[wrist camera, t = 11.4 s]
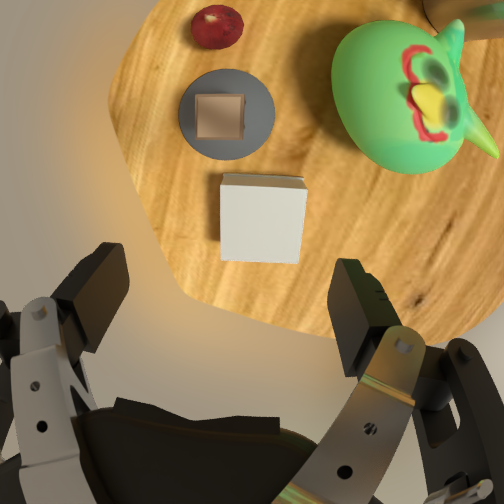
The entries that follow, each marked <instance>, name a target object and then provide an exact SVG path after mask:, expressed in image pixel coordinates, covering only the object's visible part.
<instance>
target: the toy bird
mask: <svg viewBox="0 0 504 504" xmlns="http://www.w3.org/2000/svg"><path fill="white" fill-rule="evenodd" d="M464 32H465V31H464V25H463V23H462V21H461V20H460V19H455V20H453V21H451V22H450V23H449V24H448V25H447V26H446V27H445V28H444V29H443V30H442V31H441V32H440V33H438V34H437V35H436V36H434V37H432V36H431V35H430V34H428V33H427V32H425V31H423V30H422V29H420V28H418V27H416V26H413V25H411V24H408V23H405V22H400V21H394V20H379V21H373V22H369V23H366V24H363V25H361V26H359V27H357V28H355V29H354V30H352V31H351V32H350V33H348V34H347V35H346V36H345V37H344V38H343V40H342V41H341V42H340V44H339V45H338V47H337V49H336V52H335V54H334V58H333V62H332V69H331V83H332V91H333V97H334V101H335V105H336V108H337V111H338V113H339V116H340V118H341V121H342V123H343V125H344V127H345V129H346V130H347V132H348V134H349V135H350V137H351V138H352V140H353V141H354V143H355V144H356V145H357V146H358V148H359V149H360V150H361V151H362V152H363V153H364V154H365V155H366V156H367V157H368V158H369V159H371V160H372V161H373V162H375V163H376V164H378V165H379V166H381V167H383V168H385V169H388V170H390V171H393V172H397V173H402V174H422V173H427V172H430V171H433V170H436V169H438V168H440V167H442V166H443V165H445V164H446V163H447V162H448V161H450V160H451V159H452V158H453V157H454V155H455V154H456V153H457V151H458V150H459V148H460V147H461V145H462V143H463V140H464V139H466V140H468V141H470V142H472V143H473V144H475V145H476V146H477V147H479V148H480V149H482V150H483V151H484V152H486V153H487V154H489V155H490V156H492V157H494V158H496V159H497V158H499V150H498V147H497V145H496V143H495V142H494V140H493V138H492V137H491V135H490V133H489V132H488V130H487V129H486V127H485V126H484V125H483V123H482V122H481V120H480V119H479V118H478V116H477V115H476V114H475V112H474V111H473V109H472V108H471V107H470V105H469V103H468V98H467V92H466V88H465V85H464V82H463V79H462V76H461V74H460V72H459V63H460V58H461V53H462V48H463V42H464Z"/></svg>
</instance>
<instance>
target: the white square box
mask: <svg viewBox="0 0 504 504" xmlns="http://www.w3.org/2000/svg"><path fill="white" fill-rule="evenodd" d="M307 190H308V189H307V188H306V186H305V184H304V178H303V177H296V176H281V175H264V174H241V173H223V180H222V182H221V184H220V236H221V260H227V261H248V262H271V263H294V264H298V261H299V254H300V247H301V239H302V232H303V224H304V216H305V208H306V199H307Z"/></svg>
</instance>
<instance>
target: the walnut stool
mask: <svg viewBox="0 0 504 504" xmlns="http://www.w3.org/2000/svg"><path fill="white" fill-rule="evenodd" d="M245 104H246V100H245V94H197V95H195V140H243V138H244V129H245V125H244V112H245Z"/></svg>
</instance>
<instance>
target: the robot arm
mask: <svg viewBox="0 0 504 504" xmlns="http://www.w3.org/2000/svg"><path fill="white" fill-rule="evenodd" d="M423 7H424V11H425V13H426V16H427V18H428V19H429V21H430V23H431V24H432V25H433V27H434V28H435V29H436V30H437V31H438V32H439V33H440V32H441V31H442V30H443V29H444V28H445V27H446V26H447V25H448V24H449V23H450V22H451V21H453V20H455V19H460V20H461V21H462V23H463V25H464V31H465V32H464V42H467V41H473V40H484V39H496V38H504V0H423ZM128 290H129V274H128V269H127V264H126V258H125V253H124V248H123V245H122V244H120V243H110V242H103V243H101V244H100V245H99V247H98V248H97V249H96V250H95V251H94V252H93V253H92V254H90V255H88V256H87V257H85V258H84V259H82V260H81V261H80V262H79V263H78V264H77V265H76V266H75V268H74V270H72V271H71V272H70V273H69V274H68V276H67V277H66V278H65V279H64V280H63V281H62V283H61V284H60V285H59V286H58V287H57V289H56V290H55V291H54V292H53V294H52V295H51V296H50V297H40V298H36V299H34V300H32V301H30V302H29V303H28V304H27V305H26V306H25V307H24V308H23V310H22V312H12V313H10V312H9V311H8V308H7V307H6V304H5V303H4V302H3V301H1V300H0V358H1V360H2V363H1V365H0V504H383V503H382V502H381V501H380V500H378V499H377V498H376V497H375V496H374V495H373V494H374V493H375V491H376V489H377V487H378V486H379V484H380V482H381V480H382V478H383V476H384V474H385V472H386V471H387V469H388V467H389V465H390V463H391V461H392V458H393V456H394V454H395V452H396V449H397V447H398V445H399V443H400V441H401V439H402V436H403V434H404V431H405V429H406V426H407V424H408V422H409V419H410V417H411V414H412V417H413V421H414V425H415V429H416V434H417V438H418V442H419V447H420V452H421V456H422V461H423V467H424V473H425V478H426V484H427V491H428V497H427V498H426V500H425V501H424V503H423V504H504V404H503V402H502V400H501V397H500V395H499V393H498V390H497V388H496V386H495V384H494V382H493V379H492V377H491V375H490V373H489V371H488V369H487V367H486V365H485V363H484V361H483V359H482V357H481V355H480V353H479V351H478V350H477V348H476V347H475V346H474V345H473V344H472V343H470V342H468V341H467V340H465V339H461V338H454V339H452V340H451V341H450V342H449V343H448V345H447V346H446V348H445V349H441V348H436V347H431V346H426V345H425V342H424V340H423V338H422V337H421V336H420V334H418V333H417V332H416V331H415V330H413V329H411V328H409V327H406V326H403V325H402V323H401V321H400V319H399V317H398V315H397V313H396V311H395V310H394V308H393V306H392V304H391V302H390V301H389V298H388V296H387V294H386V293H385V291H384V289H383V287H382V285H381V283H380V282H379V281H378V280H377V279H376V278H375V277H374V276H373V275H372V274H370V273H366V272H365V271H364V269H363V267H362V265H361V263H360V261H359V260H358V259H345V258H338V259H337V261H336V264H335V268H334V272H333V276H332V280H331V284H330V288H329V291H328V297H327V306H328V311H329V314H330V318H331V322H332V326H333V329H334V333H335V337H336V341H337V345H338V349H339V353H340V357H341V361H342V365H343V369H344V373H345V377H355V376H357V379H358V384H357V386H356V387H355V389H354V391H353V392H352V394H351V395H350V397H349V399H348V400H347V402H346V404H345V405H344V407H343V409H342V410H341V412H340V413H339V415H338V416H337V418H336V419H335V421H334V422H333V424H332V425H331V427H330V428H329V430H328V431H327V433H326V434H325V435H324V437H323V438H322V439H321V441H320V442H319V444H318V445H317V444H316V443H314V442H313V441H312V440H310V439H308V438H306V437H305V436H303V435H301V434H298V433H296V432H293V431H290V430H287V429H283V428H280V418H279V417H252V416H232V417H225V418H217V419H209V420H199V421H193V420H188V419H186V418H183V417H181V416H178V415H176V414H173V413H171V412H168V411H166V410H163V409H161V408H159V407H157V406H154V405H150V404H146V403H141V402H137V401H132V400H127V399H123V398H119V397H117V398H116V401H115V404H114V407H108V408H100V409H98V407H97V405H96V403H95V401H94V398H93V395H92V392H91V389H90V385H89V382H88V378H87V375H86V372H85V368H84V364H83V361H82V358H81V356H80V355H81V353H82V352H83V351H86V352H90V353H95V352H96V350H97V348H98V346H99V344H100V342H101V340H102V338H103V336H104V334H105V333H106V331H107V328H108V327H109V325H110V323H111V321H112V319H113V318H114V316H115V314H116V312H117V310H118V309H119V306H120V305H121V303H122V301H123V300H124V298H125V296H126V294H127V292H128ZM452 398H453V399H454V401H455V404H456V407H457V410H458V413H459V416H460V426H459V428H458V430H457V426H456V423H455V420H454V417H453V414H452V411H451V408H450V405H449V402H450V401H451V399H452ZM13 418H14V419H15V426H16V433H17V438H18V444H19V448H20V453H18V454H16V455H15V456H13V457H12V458H10V459H8V460H5V459H4V458H3V457H1V451H2V448H3V445H4V442H5V439H6V437H7V434H8V431H9V428H10V426H11V423H12V421H13Z"/></svg>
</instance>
